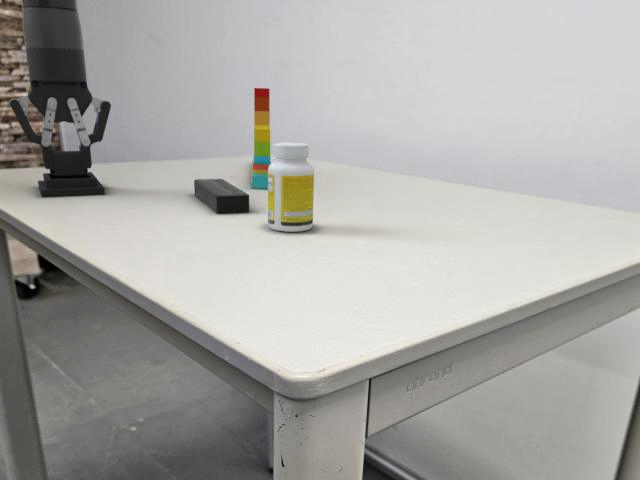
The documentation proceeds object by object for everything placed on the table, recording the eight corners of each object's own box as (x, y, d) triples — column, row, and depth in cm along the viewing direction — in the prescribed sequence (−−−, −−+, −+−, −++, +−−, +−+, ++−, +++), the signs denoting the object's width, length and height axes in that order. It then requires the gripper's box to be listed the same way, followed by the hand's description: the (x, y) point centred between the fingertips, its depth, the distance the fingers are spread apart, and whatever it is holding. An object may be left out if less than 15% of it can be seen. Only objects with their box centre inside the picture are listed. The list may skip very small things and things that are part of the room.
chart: (252, 164, 130) (252, 86, 124) (268, 164, 130) (268, 86, 125) (250, 188, 102) (249, 89, 96) (270, 189, 102) (270, 90, 97)
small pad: (55, 175, 92) (53, 154, 90) (53, 171, 95) (51, 151, 94) (84, 174, 93) (82, 154, 92) (81, 171, 96) (79, 150, 95)
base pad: (41, 197, 90) (39, 181, 89) (38, 187, 97) (36, 172, 96) (105, 194, 93) (103, 179, 92) (97, 185, 100) (96, 171, 99)
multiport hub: (217, 213, 83) (217, 196, 82) (194, 194, 95) (193, 179, 94) (250, 212, 84) (250, 194, 83) (222, 193, 97) (222, 178, 96)
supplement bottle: (321, 227, 77) (323, 144, 74) (294, 235, 73) (296, 147, 69) (286, 220, 80) (286, 140, 76) (258, 228, 76) (257, 143, 72)
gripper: (-3, 42, 82) (16, 177, 88) (111, 48, 87) (122, 174, 94) (-3, 44, 88) (15, 170, 94) (104, 49, 94) (114, 167, 100)
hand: (68, 171), depth 94 cm, fingers closed on small pad, 4 cm apart
